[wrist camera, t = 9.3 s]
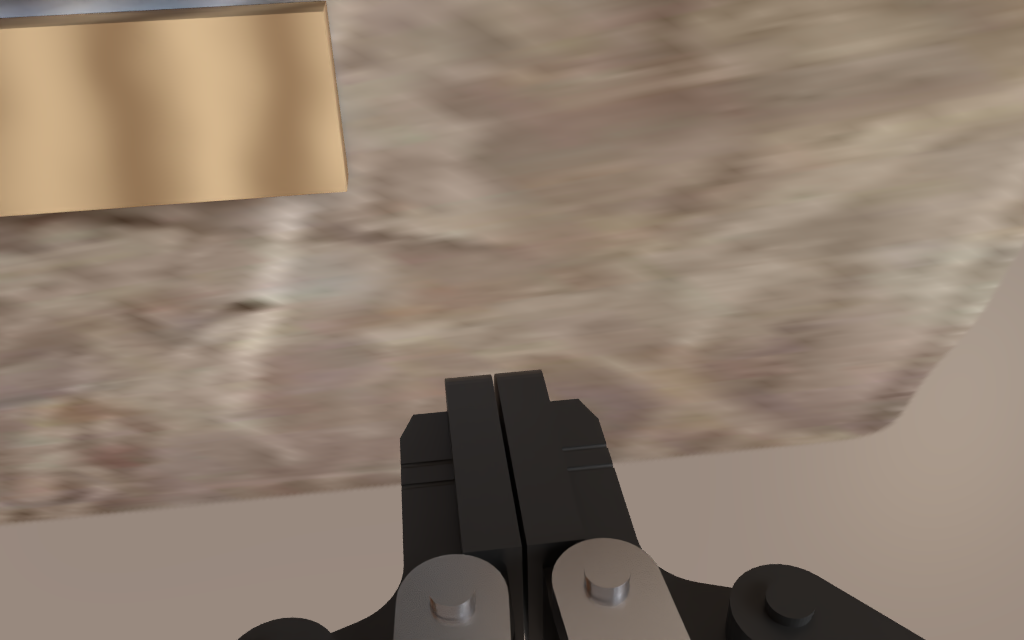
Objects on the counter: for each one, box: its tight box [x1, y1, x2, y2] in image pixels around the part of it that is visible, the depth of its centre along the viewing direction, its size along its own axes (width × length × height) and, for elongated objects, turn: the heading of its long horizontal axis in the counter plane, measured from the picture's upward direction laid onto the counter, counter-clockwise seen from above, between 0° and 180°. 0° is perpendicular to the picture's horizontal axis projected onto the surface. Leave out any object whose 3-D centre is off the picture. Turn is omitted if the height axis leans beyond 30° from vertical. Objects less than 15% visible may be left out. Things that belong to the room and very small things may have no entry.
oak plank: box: [0, 1, 348, 217], centre depth 38 cm, size 16×8×2 cm, turn 92°
